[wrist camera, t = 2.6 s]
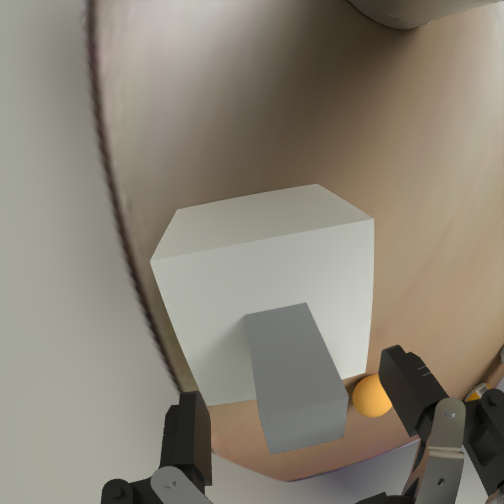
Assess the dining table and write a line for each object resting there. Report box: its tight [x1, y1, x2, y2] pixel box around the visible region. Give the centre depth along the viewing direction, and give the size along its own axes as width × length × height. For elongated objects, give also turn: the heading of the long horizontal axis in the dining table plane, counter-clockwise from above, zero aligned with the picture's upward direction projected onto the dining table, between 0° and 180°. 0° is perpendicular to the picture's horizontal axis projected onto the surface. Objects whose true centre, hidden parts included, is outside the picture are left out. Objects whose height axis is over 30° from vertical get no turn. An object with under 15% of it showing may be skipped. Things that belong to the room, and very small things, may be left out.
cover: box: [150, 184, 374, 454], centre depth 16 cm, size 10×10×15 cm
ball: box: [352, 375, 392, 417], centre depth 28 cm, size 5×5×5 cm
